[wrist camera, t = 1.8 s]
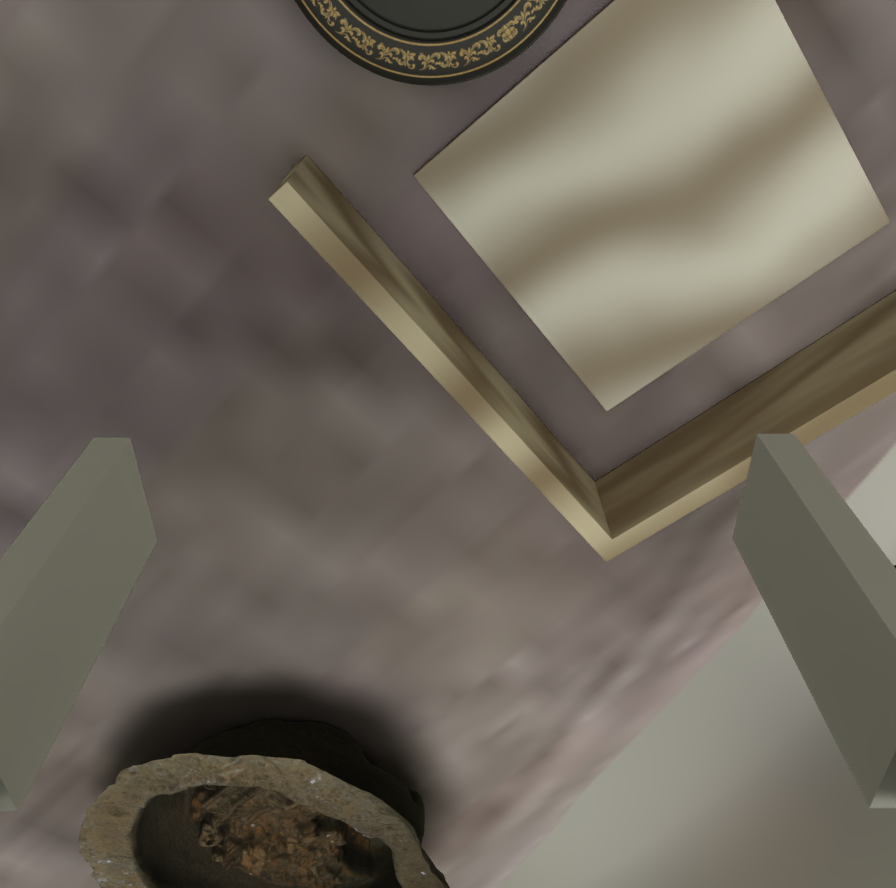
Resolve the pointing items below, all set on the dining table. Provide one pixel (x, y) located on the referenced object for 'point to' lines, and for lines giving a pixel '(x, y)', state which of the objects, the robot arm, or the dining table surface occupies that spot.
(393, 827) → the stone bowl
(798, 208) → the arena
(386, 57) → the jar
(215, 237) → the dining table surface
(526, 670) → the dining table surface
